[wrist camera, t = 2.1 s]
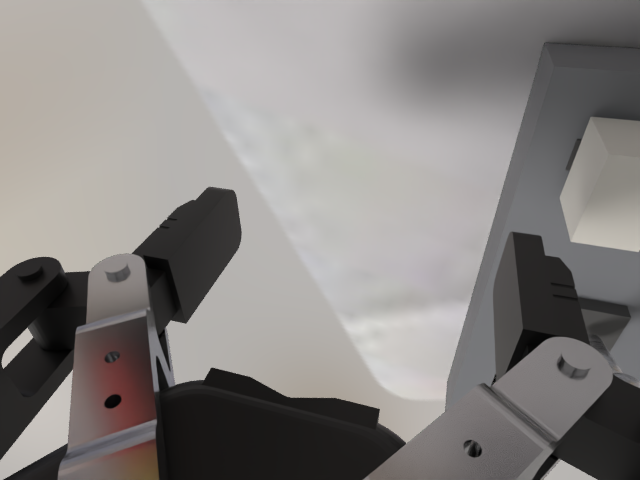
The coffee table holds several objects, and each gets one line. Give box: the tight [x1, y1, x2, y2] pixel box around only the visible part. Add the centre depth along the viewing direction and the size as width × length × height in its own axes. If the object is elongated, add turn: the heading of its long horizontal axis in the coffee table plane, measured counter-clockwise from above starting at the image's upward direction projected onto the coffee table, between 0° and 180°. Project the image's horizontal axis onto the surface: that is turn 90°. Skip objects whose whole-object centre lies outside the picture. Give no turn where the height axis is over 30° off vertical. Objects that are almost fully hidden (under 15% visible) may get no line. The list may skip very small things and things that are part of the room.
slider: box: [560, 117, 640, 252], centre depth 14 cm, size 3×2×3 cm, turn 0°
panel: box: [445, 43, 640, 411], centre depth 21 cm, size 22×9×4 cm, turn 0°
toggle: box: [588, 334, 640, 388], centre depth 17 cm, size 2×2×4 cm
